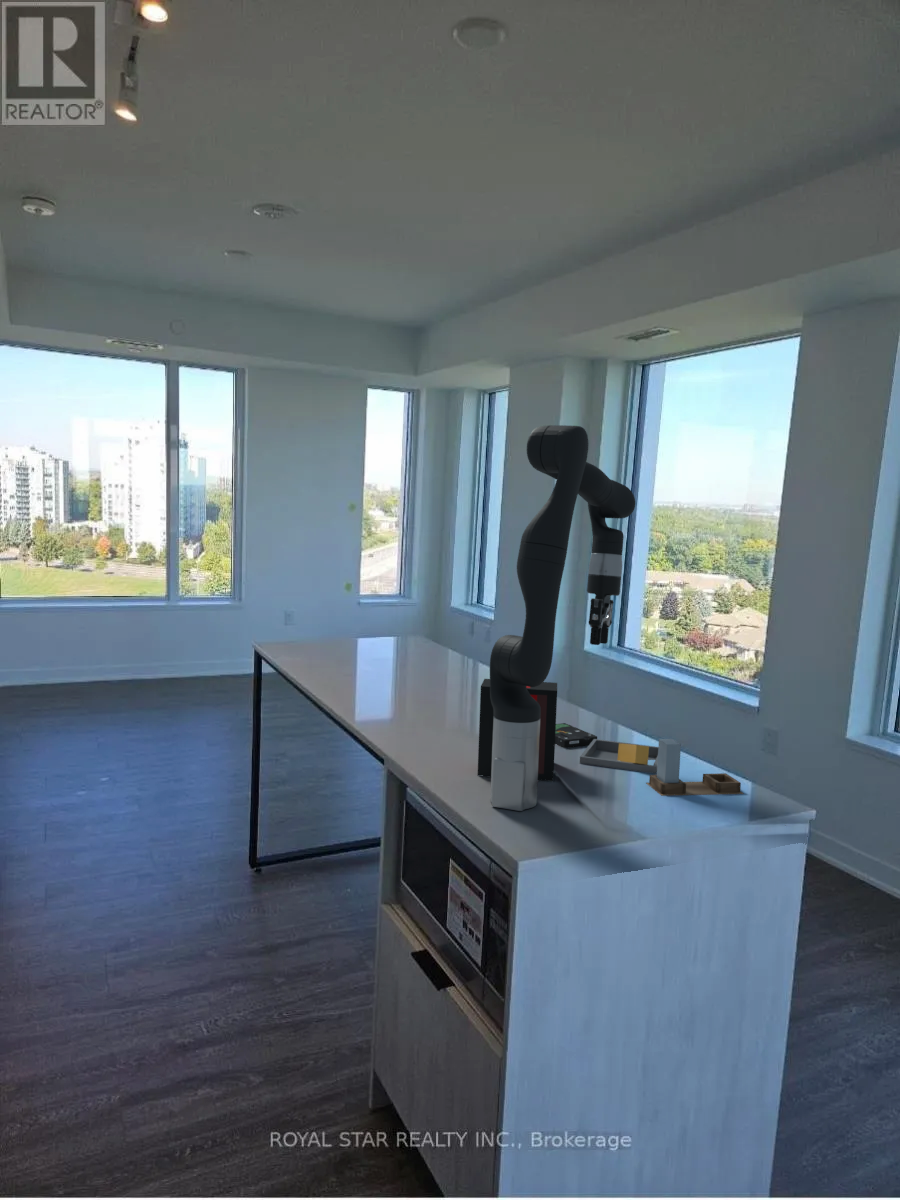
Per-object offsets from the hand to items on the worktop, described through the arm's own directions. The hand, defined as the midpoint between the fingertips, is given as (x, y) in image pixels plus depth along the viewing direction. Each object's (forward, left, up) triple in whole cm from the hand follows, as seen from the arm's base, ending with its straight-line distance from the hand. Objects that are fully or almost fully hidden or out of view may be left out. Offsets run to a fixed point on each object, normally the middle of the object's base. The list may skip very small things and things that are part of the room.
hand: (598, 644), depth 180 cm
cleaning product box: (-14, +15, -29) cm, 35 cm away
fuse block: (-12, -23, -28) cm, 39 cm away
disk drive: (+19, +11, -29) cm, 36 cm away
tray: (+3, -6, -28) cm, 29 cm away
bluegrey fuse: (-15, -18, -27) cm, 36 cm away
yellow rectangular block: (+3, -7, -26) cm, 27 cm away
